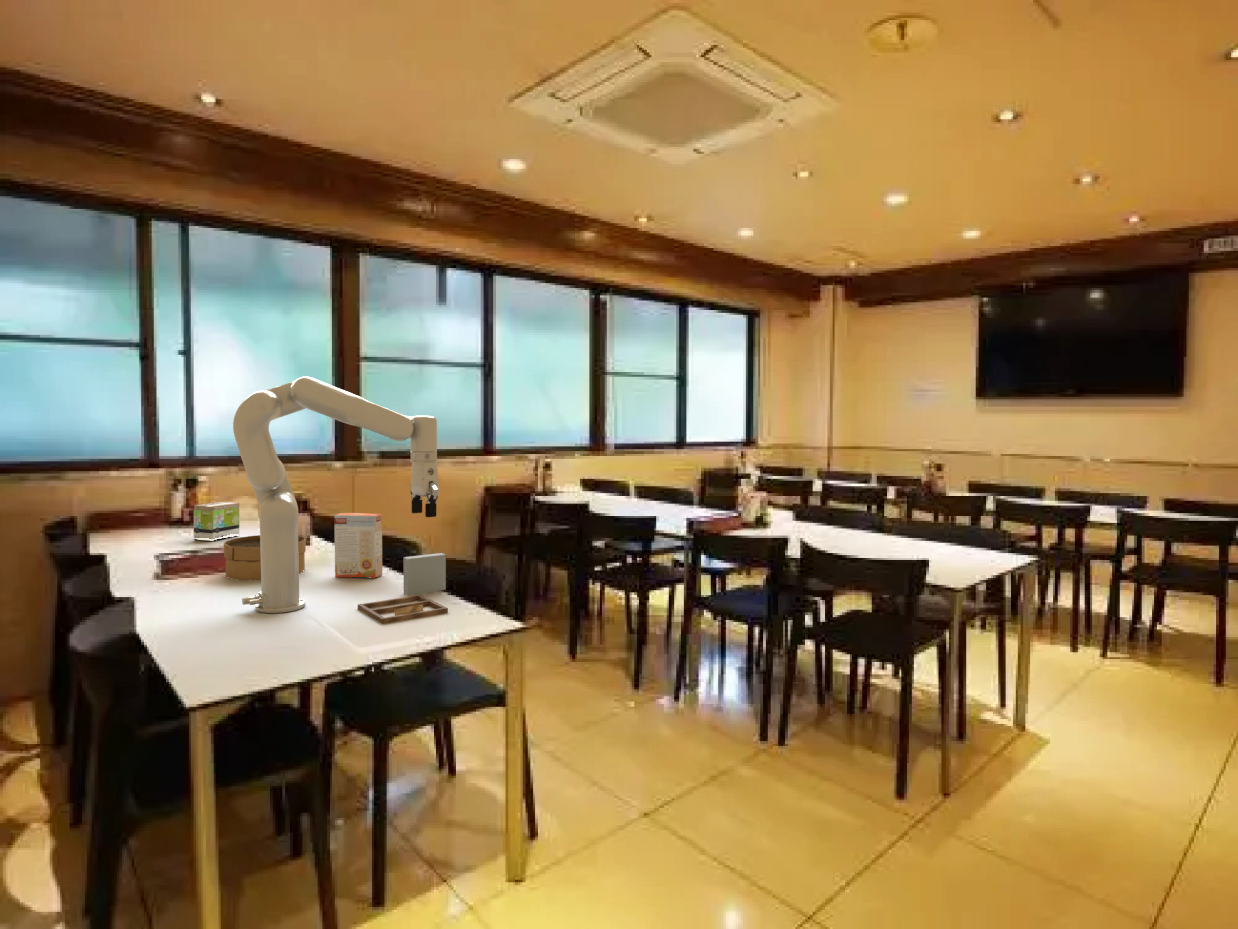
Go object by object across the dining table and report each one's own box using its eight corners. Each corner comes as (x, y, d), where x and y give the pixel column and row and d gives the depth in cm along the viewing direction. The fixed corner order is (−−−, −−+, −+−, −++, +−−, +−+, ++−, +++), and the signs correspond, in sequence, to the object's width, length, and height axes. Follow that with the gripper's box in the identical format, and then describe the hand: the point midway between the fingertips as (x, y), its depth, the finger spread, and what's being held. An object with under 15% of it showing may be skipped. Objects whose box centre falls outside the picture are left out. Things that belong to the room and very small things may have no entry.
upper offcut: (408, 613, 191) (407, 606, 191) (394, 616, 192) (394, 609, 192) (423, 611, 199) (422, 604, 199) (410, 613, 199) (409, 607, 200)
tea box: (213, 542, 300) (212, 506, 299) (193, 540, 302) (192, 505, 301) (240, 536, 315) (239, 502, 314) (220, 535, 317) (220, 501, 316)
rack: (382, 628, 186) (382, 619, 185) (357, 613, 199) (357, 604, 199) (447, 617, 197) (447, 608, 197) (420, 603, 210) (420, 594, 210)
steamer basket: (226, 584, 230) (225, 548, 229) (222, 569, 251) (221, 537, 251) (310, 576, 243) (310, 542, 242) (300, 563, 264) (300, 532, 263)
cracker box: (383, 575, 246) (382, 513, 244) (375, 579, 240) (374, 515, 238) (343, 573, 247) (342, 511, 245) (334, 577, 241) (333, 514, 239)
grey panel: (407, 599, 215) (407, 559, 214) (403, 597, 217) (403, 557, 216) (445, 593, 222) (445, 554, 221) (441, 591, 225) (441, 553, 224)
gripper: (448, 458, 212) (448, 517, 214) (423, 455, 226) (423, 510, 227) (424, 459, 208) (424, 519, 209) (400, 456, 221) (400, 512, 222)
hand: (423, 514), depth 218 cm, fingers open, 9 cm apart
